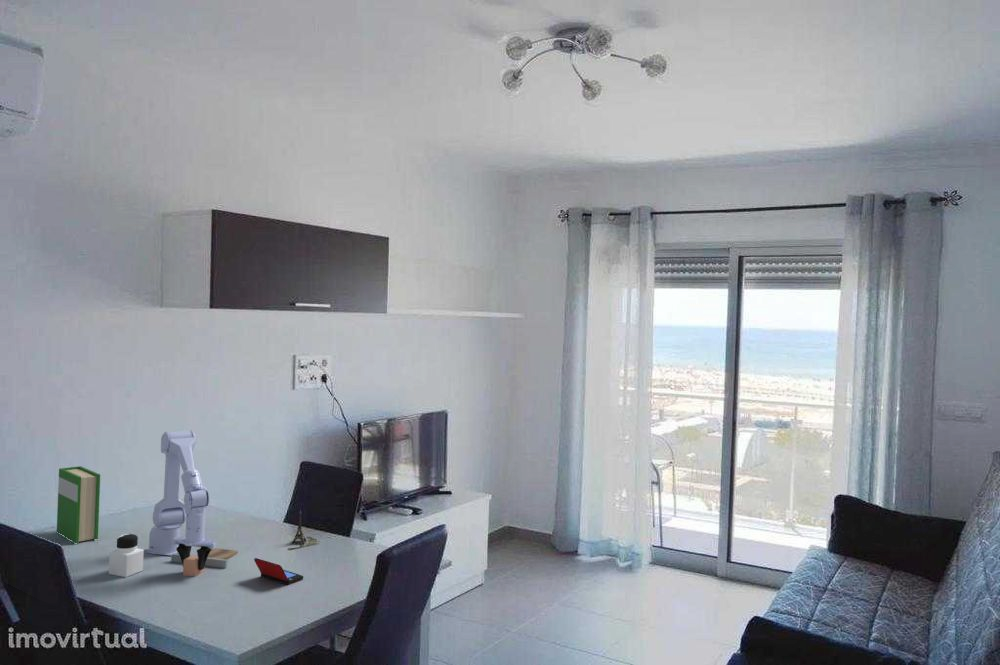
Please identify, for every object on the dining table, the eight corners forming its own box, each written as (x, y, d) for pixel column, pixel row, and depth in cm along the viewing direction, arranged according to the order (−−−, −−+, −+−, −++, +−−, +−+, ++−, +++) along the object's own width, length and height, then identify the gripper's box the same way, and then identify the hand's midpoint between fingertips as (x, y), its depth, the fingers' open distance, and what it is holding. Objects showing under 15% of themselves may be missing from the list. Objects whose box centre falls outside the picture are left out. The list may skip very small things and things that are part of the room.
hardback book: (97, 540, 270) (100, 474, 269) (75, 544, 264) (78, 477, 264) (78, 529, 281) (80, 466, 281) (56, 533, 276) (59, 468, 275)
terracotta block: (182, 575, 241) (183, 559, 240) (191, 570, 245) (191, 555, 245) (195, 576, 240) (196, 561, 240) (203, 572, 244) (204, 556, 244)
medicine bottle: (143, 570, 242) (144, 534, 242) (125, 577, 236) (127, 540, 235) (126, 567, 245) (127, 531, 244) (108, 574, 238) (109, 536, 238)
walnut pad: (195, 559, 255) (195, 556, 255) (211, 550, 265) (211, 547, 265) (221, 562, 254) (222, 559, 254) (237, 553, 264) (237, 550, 263)
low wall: (171, 561, 252) (171, 554, 252) (173, 560, 253) (173, 553, 253) (225, 568, 249) (225, 560, 248) (227, 567, 250) (227, 559, 249)
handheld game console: (304, 579, 243) (306, 557, 242) (279, 589, 233) (280, 565, 233) (277, 571, 249) (278, 549, 249) (252, 580, 240) (253, 557, 240)
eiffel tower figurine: (289, 552, 270) (291, 515, 269) (273, 545, 276) (275, 509, 276) (324, 543, 281) (325, 508, 281) (308, 537, 288) (309, 503, 287)
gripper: (167, 527, 239) (165, 569, 240) (208, 532, 237) (207, 574, 237) (180, 522, 246) (179, 562, 247) (220, 526, 244) (219, 567, 244)
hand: (193, 568), depth 242 cm, fingers open, 5 cm apart
